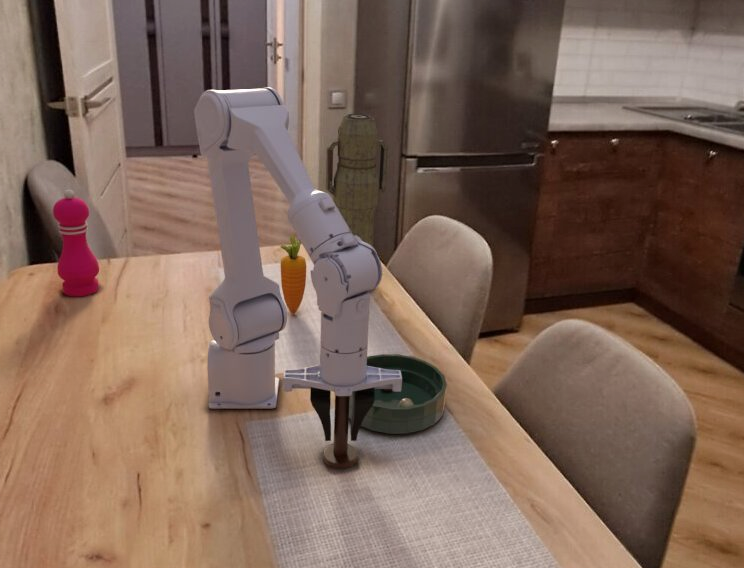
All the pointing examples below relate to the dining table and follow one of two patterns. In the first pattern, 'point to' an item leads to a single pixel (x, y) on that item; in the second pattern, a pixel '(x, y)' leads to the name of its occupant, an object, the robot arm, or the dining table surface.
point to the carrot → (293, 276)
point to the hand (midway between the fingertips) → (340, 436)
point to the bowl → (406, 396)
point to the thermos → (357, 173)
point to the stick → (340, 438)
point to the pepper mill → (75, 247)
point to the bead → (405, 402)
